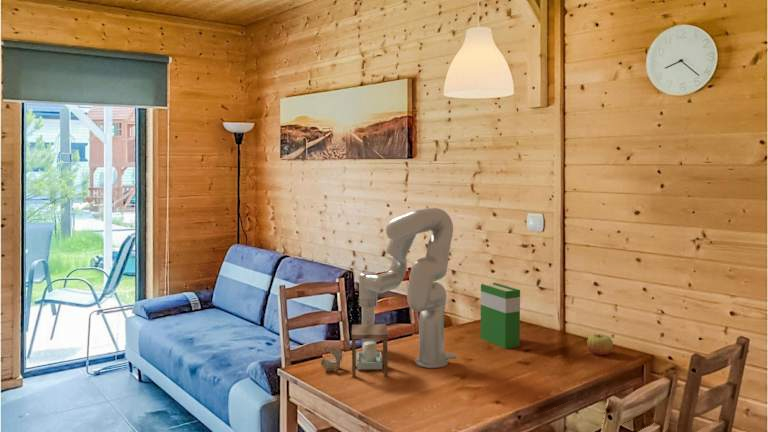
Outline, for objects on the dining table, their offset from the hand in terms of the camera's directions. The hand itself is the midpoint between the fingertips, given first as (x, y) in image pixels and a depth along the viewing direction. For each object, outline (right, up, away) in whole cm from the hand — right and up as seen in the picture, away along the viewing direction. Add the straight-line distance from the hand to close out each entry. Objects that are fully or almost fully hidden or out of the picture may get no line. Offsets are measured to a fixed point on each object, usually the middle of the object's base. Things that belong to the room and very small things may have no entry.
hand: (368, 345), depth 257 cm
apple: (+93, -2, -7) cm, 94 cm away
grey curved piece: (-13, -5, -25) cm, 29 cm away
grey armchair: (0, -3, -14) cm, 14 cm away
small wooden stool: (+1, -4, -26) cm, 27 cm away
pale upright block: (+1, -2, -19) cm, 19 cm away
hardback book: (+56, -1, +10) cm, 57 cm away
